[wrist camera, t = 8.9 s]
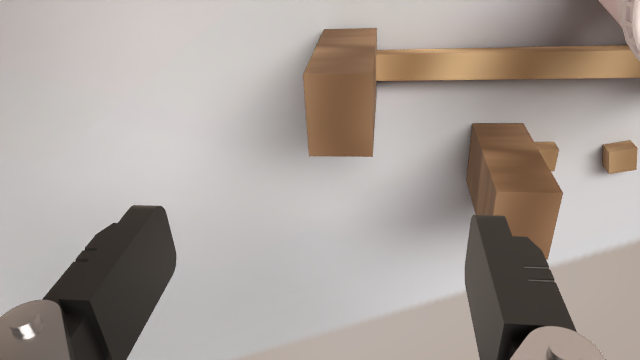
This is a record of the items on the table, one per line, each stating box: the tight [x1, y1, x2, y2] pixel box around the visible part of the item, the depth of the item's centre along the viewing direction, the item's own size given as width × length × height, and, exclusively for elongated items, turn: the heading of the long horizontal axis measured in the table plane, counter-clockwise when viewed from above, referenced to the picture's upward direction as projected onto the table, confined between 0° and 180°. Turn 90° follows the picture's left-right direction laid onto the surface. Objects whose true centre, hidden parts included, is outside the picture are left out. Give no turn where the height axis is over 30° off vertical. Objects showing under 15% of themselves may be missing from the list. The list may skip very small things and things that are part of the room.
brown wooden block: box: [466, 123, 637, 259], centre depth 27 cm, size 10×4×8 cm, turn 93°
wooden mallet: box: [303, 28, 640, 157], centre depth 23 cm, size 20×10×8 cm, turn 93°
